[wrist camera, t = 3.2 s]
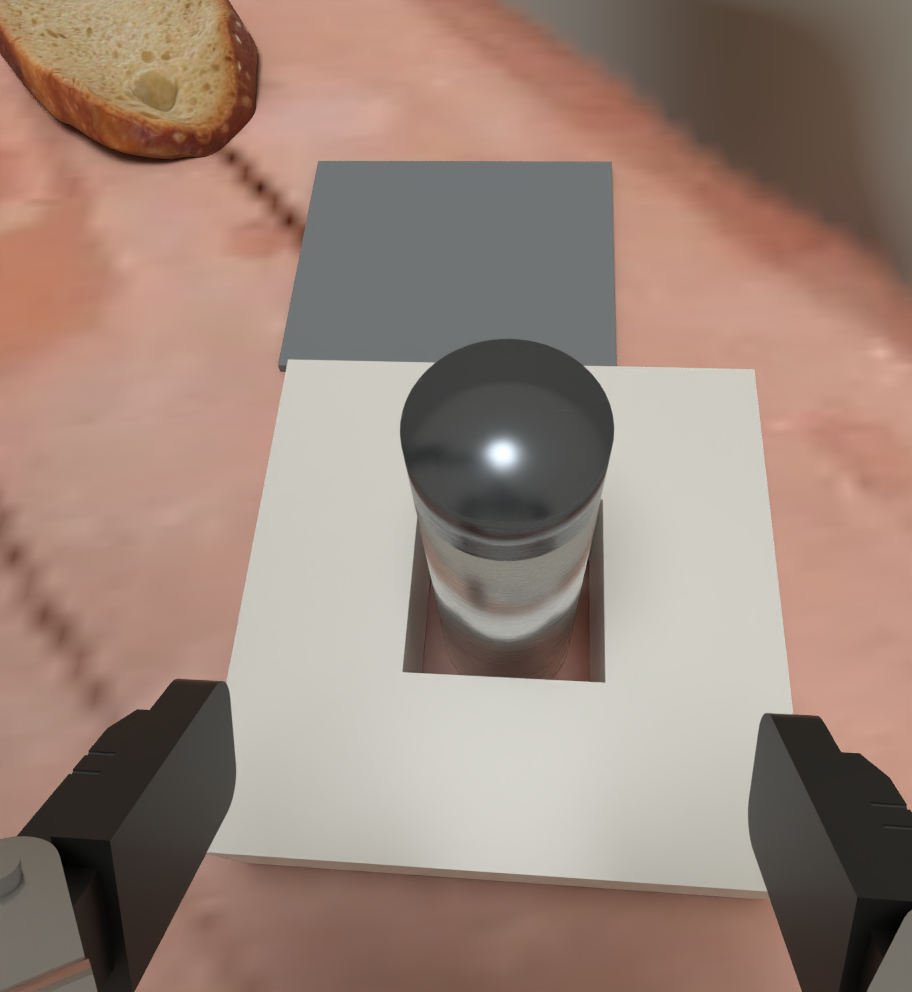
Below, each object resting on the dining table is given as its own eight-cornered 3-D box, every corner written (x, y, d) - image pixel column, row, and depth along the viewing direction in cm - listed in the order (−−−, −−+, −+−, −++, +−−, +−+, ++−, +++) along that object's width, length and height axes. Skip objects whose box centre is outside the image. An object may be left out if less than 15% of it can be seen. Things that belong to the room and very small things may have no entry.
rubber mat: (280, 370, 35) (278, 365, 35) (319, 167, 41) (318, 160, 40) (615, 378, 34) (616, 372, 34) (610, 168, 40) (611, 161, 39)
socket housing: (246, 863, 27) (194, 851, 22) (316, 433, 34) (287, 359, 29) (760, 899, 25) (813, 895, 21) (720, 444, 33) (754, 369, 28)
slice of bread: (-12, -31, 51) (-49, -98, 47) (282, -49, 50) (266, -118, 46) (-100, 185, 43) (-152, 123, 39) (250, 168, 42) (227, 102, 38)
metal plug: (440, 692, 29) (389, 517, 16) (449, 572, 31) (410, 336, 18) (568, 698, 29) (616, 526, 16) (569, 577, 31) (612, 340, 18)
